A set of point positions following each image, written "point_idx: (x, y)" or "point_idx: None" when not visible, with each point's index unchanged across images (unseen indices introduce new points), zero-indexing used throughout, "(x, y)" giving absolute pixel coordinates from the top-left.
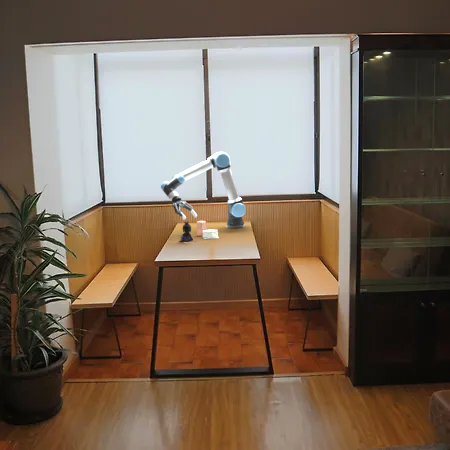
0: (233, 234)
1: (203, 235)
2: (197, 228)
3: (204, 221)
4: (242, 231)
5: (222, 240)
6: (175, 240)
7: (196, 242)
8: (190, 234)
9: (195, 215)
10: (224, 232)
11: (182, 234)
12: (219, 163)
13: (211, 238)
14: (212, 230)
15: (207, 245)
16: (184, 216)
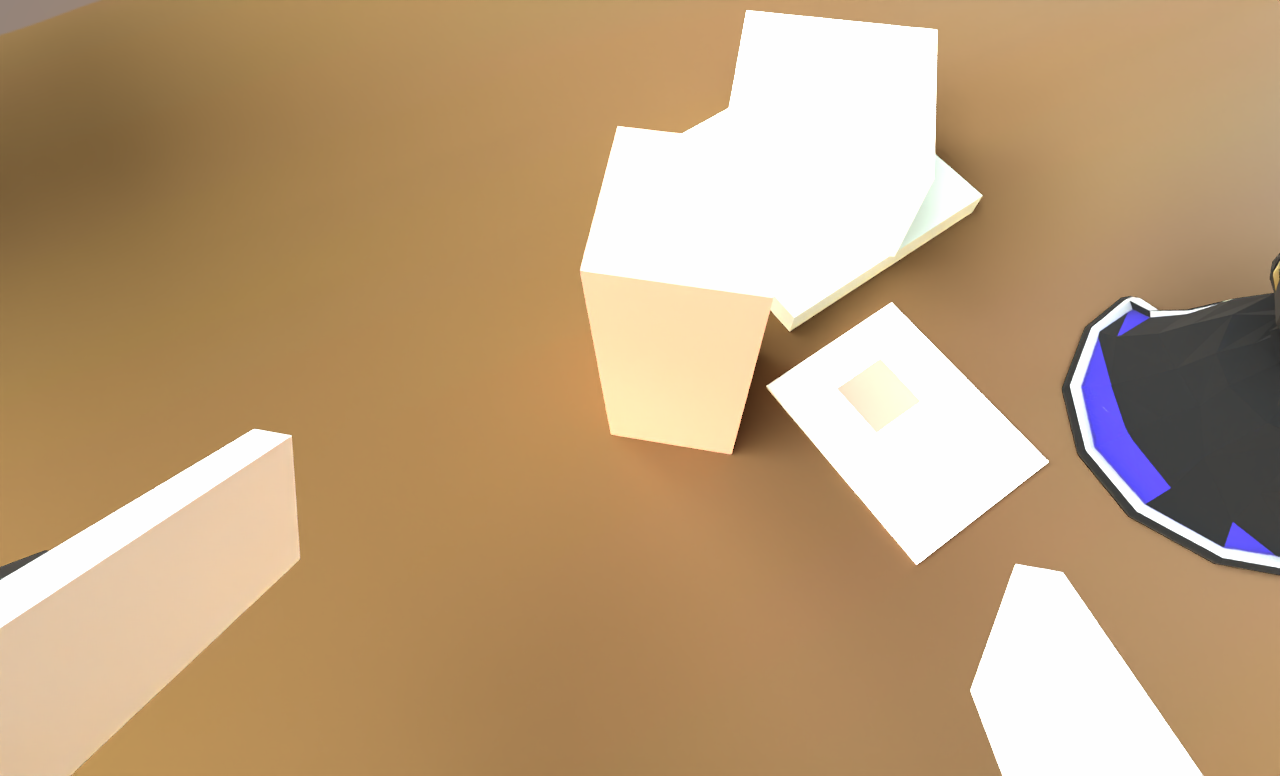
0: (417, 54)
1: (906, 225)
2: (750, 377)
3: (680, 134)
4: (178, 37)
5: (865, 19)
6: (1209, 753)
7: (1153, 259)
8: (1234, 310)
9: (266, 504)
10: (244, 219)
11: None
12: None
13: None
14: (808, 64)
15: (1243, 47)
16: (1103, 644)
